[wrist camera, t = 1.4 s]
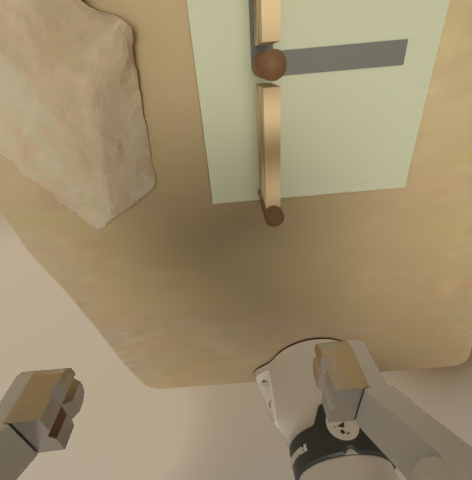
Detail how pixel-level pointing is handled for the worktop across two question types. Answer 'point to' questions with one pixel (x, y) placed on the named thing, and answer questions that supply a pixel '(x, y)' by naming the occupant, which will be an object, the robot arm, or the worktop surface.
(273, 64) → the fence fixed half
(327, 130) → the board
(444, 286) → the worktop surface
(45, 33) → the stone tool
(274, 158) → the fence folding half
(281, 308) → the worktop surface
